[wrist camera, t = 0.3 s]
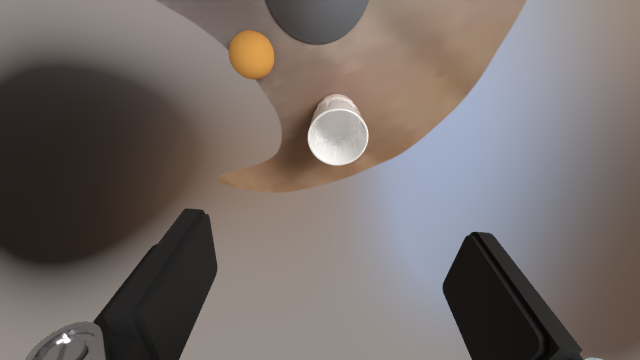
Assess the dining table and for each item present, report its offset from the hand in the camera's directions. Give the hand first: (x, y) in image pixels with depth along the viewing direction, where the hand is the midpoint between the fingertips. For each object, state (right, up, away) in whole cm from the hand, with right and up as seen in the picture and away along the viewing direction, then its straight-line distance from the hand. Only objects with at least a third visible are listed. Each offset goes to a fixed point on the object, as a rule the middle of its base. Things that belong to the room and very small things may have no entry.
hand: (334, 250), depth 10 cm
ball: (-10, +19, +26) cm, 34 cm away
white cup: (+2, +13, +34) cm, 36 cm away
